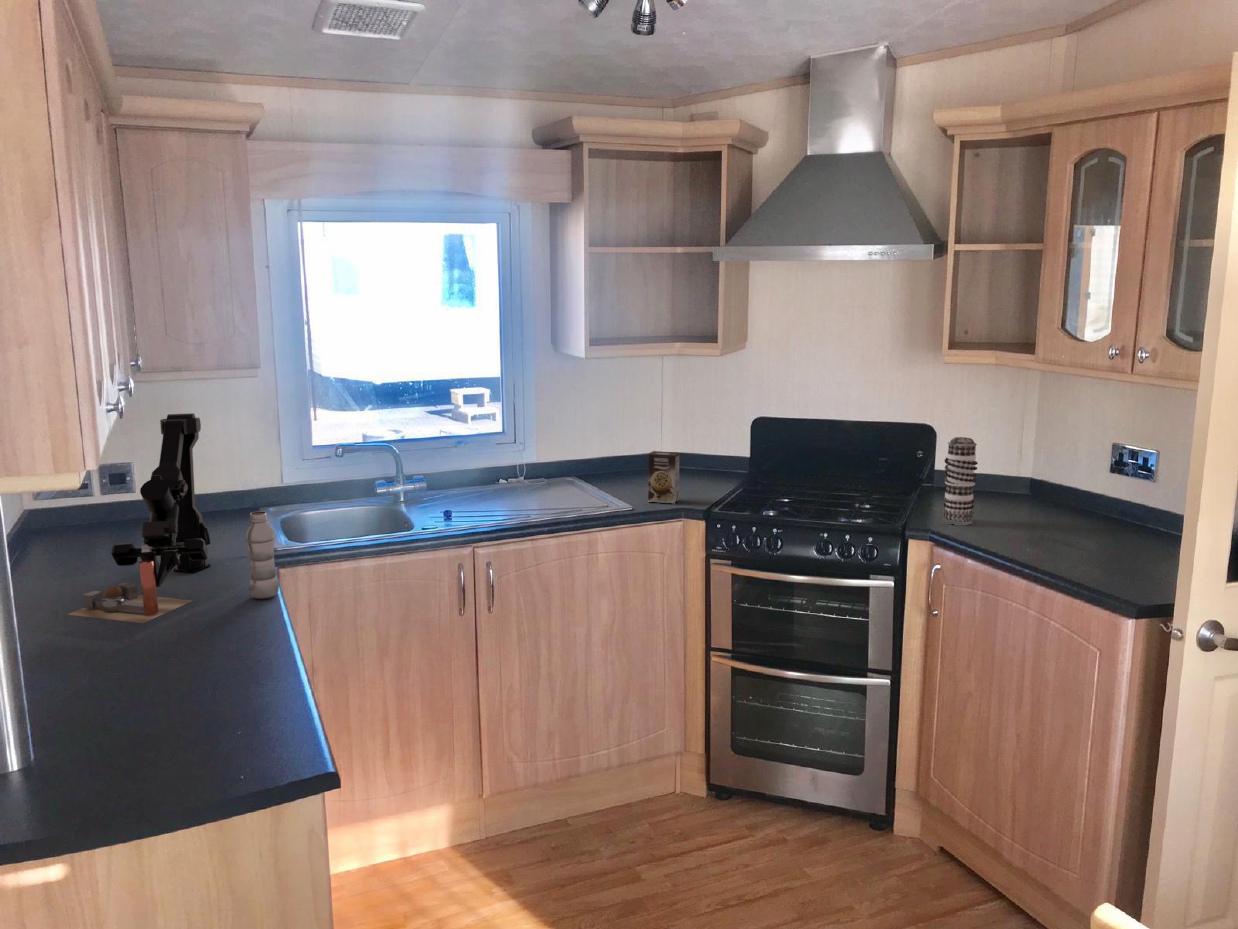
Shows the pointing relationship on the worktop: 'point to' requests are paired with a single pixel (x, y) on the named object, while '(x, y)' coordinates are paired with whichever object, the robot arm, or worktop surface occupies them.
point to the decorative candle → (960, 479)
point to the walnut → (113, 592)
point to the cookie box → (663, 477)
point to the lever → (119, 604)
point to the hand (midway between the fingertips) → (157, 586)
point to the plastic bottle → (261, 557)
